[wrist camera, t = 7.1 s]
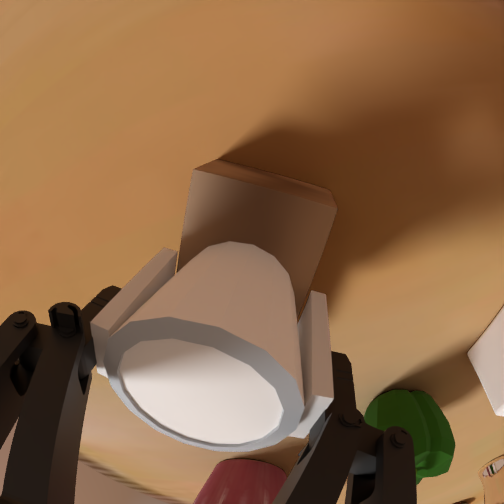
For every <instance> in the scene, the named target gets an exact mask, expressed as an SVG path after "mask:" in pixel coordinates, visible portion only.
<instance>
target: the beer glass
mask: <svg viewBox="0 0 504 504" xmlns="http://www.w3.org/2000/svg"><path fill="white" fill-rule="evenodd" d="M478 476H479V478H480V480H481V482H482V485H483V488H484V504H504V455H503V456H500V457H498V458H496V459H494V460H492V461H490V462H489V463H487V464H486V465H484V466H483V467H482V468H481V469H480V470H479V471H478Z"/></svg>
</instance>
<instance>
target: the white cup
mask: <svg viewBox="0 0 504 504" xmlns="http://www.w3.org/2000/svg"><path fill="white" fill-rule="evenodd" d="M103 363H104V366H105V369H106V372H107V375H108V378H109V381H110V384H111V387H112V388H113V389H114V391H115V392H116V393H117V395H118V396H119V397H120V399H121V400H122V401H123V403H124V404H125V405H126V406H127V408H128V409H129V410H130V411H131V412H133V413H134V414H135V415H136V416H138V417H139V418H140V419H142V420H143V421H144V422H146V423H147V424H148V425H149V426H151V427H152V428H153V429H155V430H157V431H159V432H161V433H163V434H165V435H167V436H169V437H171V438H174V439H176V440H178V441H180V442H182V443H185V444H189V445H193V446H196V447H201V448H205V449H209V450H213V451H230V452H248V451H252V450H257V449H261V448H265V447H268V446H272V445H276V444H277V443H278V442H280V441H281V440H283V439H284V438H285V437H287V436H288V435H290V434H291V433H292V432H294V431H295V430H296V429H297V426H298V424H299V421H300V418H301V416H302V413H303V411H304V408H305V406H304V392H303V380H302V368H301V357H300V346H299V335H298V325H297V315H296V306H295V296H294V291H293V287H292V284H291V280H290V277H289V274H288V272H287V271H286V270H285V269H284V267H283V266H282V265H281V264H280V263H279V261H278V260H277V259H276V258H275V256H273V255H271V254H269V253H267V252H266V251H264V250H262V249H260V248H258V247H257V246H255V245H252V244H245V243H239V242H232V241H228V242H224V243H220V244H216V245H212V246H208V247H207V248H205V249H204V250H203V251H202V252H200V253H199V254H198V255H196V256H195V257H194V258H193V259H192V260H190V261H189V262H188V263H187V264H186V265H185V266H184V267H183V268H182V269H181V270H180V271H179V272H177V273H176V274H175V275H174V276H173V277H172V278H171V279H170V280H169V281H168V282H167V283H166V284H165V285H164V286H162V287H161V288H160V289H159V290H158V291H157V292H156V293H155V294H154V295H153V296H152V297H151V298H150V299H149V300H148V301H147V302H146V303H144V304H143V305H142V306H141V307H140V308H139V309H138V310H137V311H136V312H135V313H134V314H133V315H132V316H131V317H130V318H129V319H128V320H127V321H126V322H125V323H124V324H123V325H122V326H121V327H120V328H119V329H118V330H117V331H115V332H114V333H113V334H112V335H111V336H110V337H109V338H108V342H107V347H106V351H105V355H104V360H103Z"/></svg>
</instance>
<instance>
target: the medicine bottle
mask: <svg viewBox="0 0 504 504" xmlns="http://www.w3.org/2000/svg"><path fill="white" fill-rule="evenodd" d="M467 355H468V357H469V359H470V361H471V363H472V365H473V367H474V369H475V371H476V373H477V375H478V377H479V379H480V381H481V383H482V385H483V388H484V390H485V392H486V394H487V396H488V398H489V401H490V403H491V405H492V408H493V410H494V412H495V414H496V415H498V416H504V306H503V307H502V309H501V310H500V311H499V313H498V314H497V316H496V317H495V318H494V320H493V321H492V322H491V324H490V325H489V326H488V328H487V329H486V330H485V331H484V333H483V334H482V335H481V337H480V338H479V339H478V340H477V341H476V343H475V344H474V345H473V346H472V347H471V349H470V350H469V351H468V353H467Z"/></svg>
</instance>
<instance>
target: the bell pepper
mask: <svg viewBox="0 0 504 504" xmlns="http://www.w3.org/2000/svg"><path fill="white" fill-rule="evenodd" d="M364 420H365V422H366V423H367V424H369V425H370V426H373V427H375V428H377V429H380V430H382V431H385V430H386V429H387V428H389V427H391V426H399V427H402V428H404V429H405V430H407V431H408V432H409V433H410V435H411V436H412V439H413V443H414V455H415V469H416V485H417V484H419V482H420V481H421V480H422V478H424V477H434V476H438V475H441V474H443V473H446V472H448V470H449V467H450V465H451V462H452V459H453V455H454V450H455V440H454V437H453V434H452V431H451V428H450V425H449V422H448V420H447V419H446V417H445V416H444V414H443V412H442V411H441V409H440V408H439V406H438V405H437V404H436V402H435V401H434V400H433V398H432V397H431V396H430V395H429V394H427V393H425V392H424V391H417V390H416V391H413V392H409V391H407V390H396V389H394V390H392V391H389V392H387V393H384V394H381V395H380V396H378V397H377V398H376V399H374V400H373V401H372V402H371V403H370V404H369V406H368V408H367V410H366V412H365V415H364Z"/></svg>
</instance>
